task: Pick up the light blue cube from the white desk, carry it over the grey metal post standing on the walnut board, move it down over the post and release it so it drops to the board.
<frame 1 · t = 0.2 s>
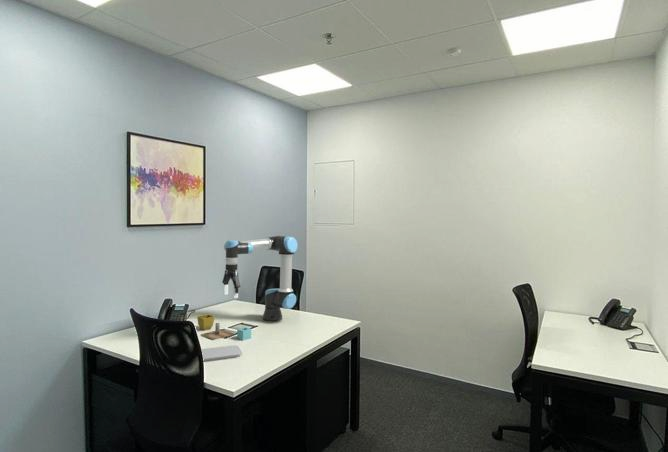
hand: (230, 296, 249), 27 cm above the table, fingers open, 13 cm apart
post stand: (217, 334, 254), on the table
flower pot: (205, 329, 266), on the table
light blue cube: (244, 338, 249), on the table
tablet: (216, 356, 218), on the table
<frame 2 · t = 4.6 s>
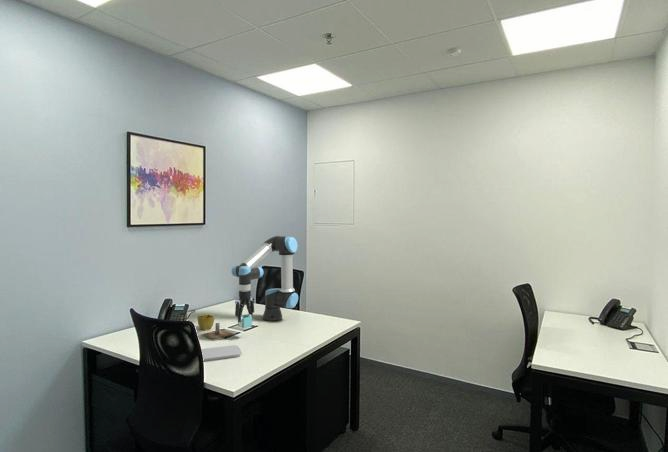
hand: (244, 325, 249), 8 cm above the table, fingers closed on light blue cube, 6 cm apart
light blue cube: (244, 325, 249), point 8 cm above the table, touching gripper
everything else where it was.
when the fingers open (1 cm above the table, at t = 9.5 s): light blue cube stays where it is, resting on post stand.
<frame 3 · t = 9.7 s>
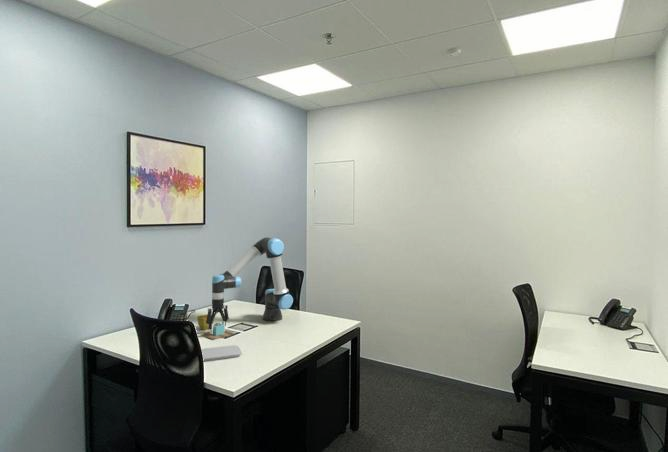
hand: (217, 332, 254), 2 cm above the table, fingers open, 8 cm apart
light blue cube: (217, 333, 254), point 1 cm above the table, touching post stand
everything else where it was.
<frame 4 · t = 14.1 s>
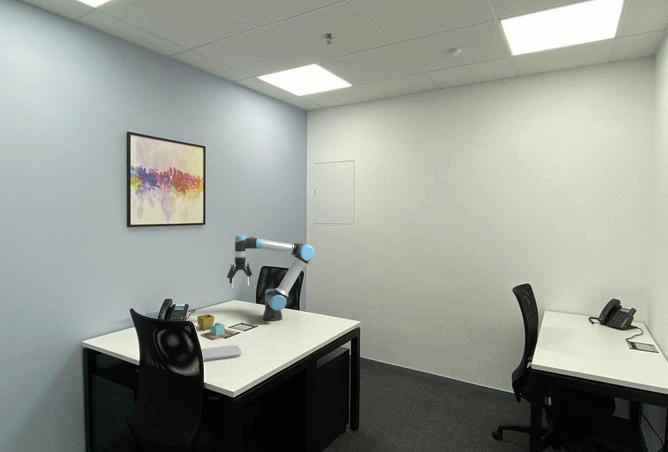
hand: (239, 286, 274), 29 cm above the table, fingers open, 13 cm apart
nothing on the table moved.
at the end: light blue cube 0.0 cm off-centre on the post stand, point 0.8 cm above the post stand's base; the gripper is holding nothing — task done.
